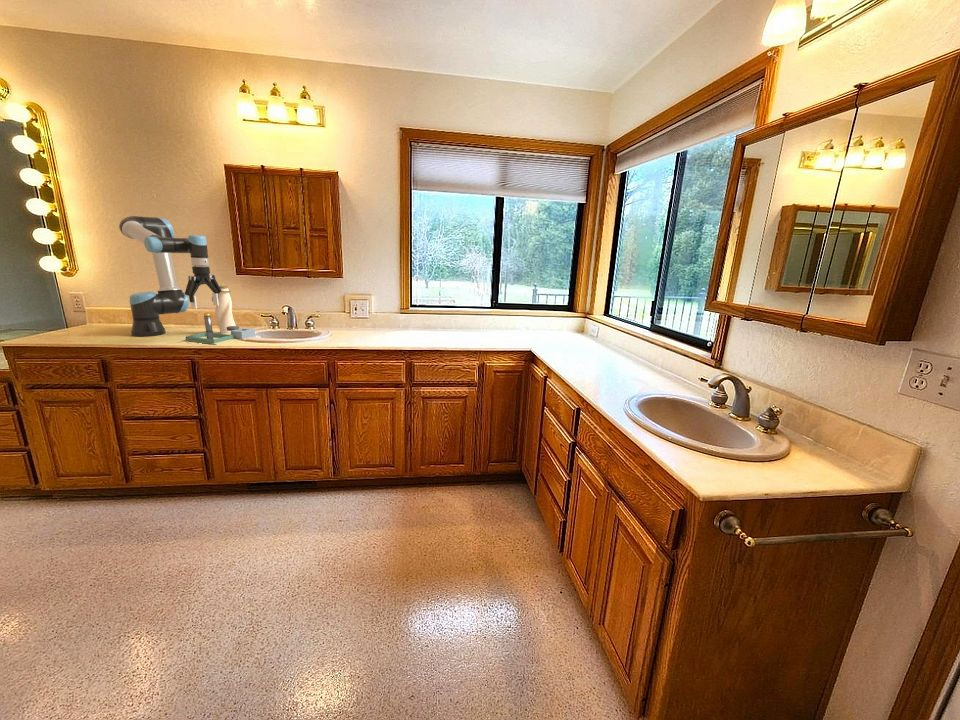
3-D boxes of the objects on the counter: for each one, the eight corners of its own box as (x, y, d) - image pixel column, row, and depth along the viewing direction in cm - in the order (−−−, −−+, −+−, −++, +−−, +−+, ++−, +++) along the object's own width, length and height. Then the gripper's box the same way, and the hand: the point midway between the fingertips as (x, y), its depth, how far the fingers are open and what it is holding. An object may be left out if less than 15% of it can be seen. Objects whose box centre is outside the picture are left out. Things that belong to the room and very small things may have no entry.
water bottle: (217, 336, 234) (211, 287, 226) (215, 333, 240) (209, 285, 233) (238, 334, 240) (232, 286, 233) (235, 331, 247) (230, 285, 239)
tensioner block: (221, 338, 228) (220, 327, 227) (235, 335, 238) (234, 325, 236) (243, 340, 225) (241, 329, 224) (256, 337, 235) (255, 327, 233)
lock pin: (205, 340, 220) (202, 313, 216) (210, 339, 223) (207, 313, 219) (210, 340, 219) (207, 314, 216) (215, 339, 222) (211, 313, 218)
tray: (185, 342, 217) (185, 336, 216) (206, 337, 229) (205, 332, 228) (214, 345, 213) (213, 339, 212) (233, 340, 226) (233, 335, 225)
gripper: (185, 267, 198) (190, 310, 204) (226, 265, 222) (230, 304, 228) (172, 266, 200) (178, 309, 205) (214, 265, 223) (218, 303, 229)
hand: (205, 306), depth 217 cm, fingers open, 13 cm apart
